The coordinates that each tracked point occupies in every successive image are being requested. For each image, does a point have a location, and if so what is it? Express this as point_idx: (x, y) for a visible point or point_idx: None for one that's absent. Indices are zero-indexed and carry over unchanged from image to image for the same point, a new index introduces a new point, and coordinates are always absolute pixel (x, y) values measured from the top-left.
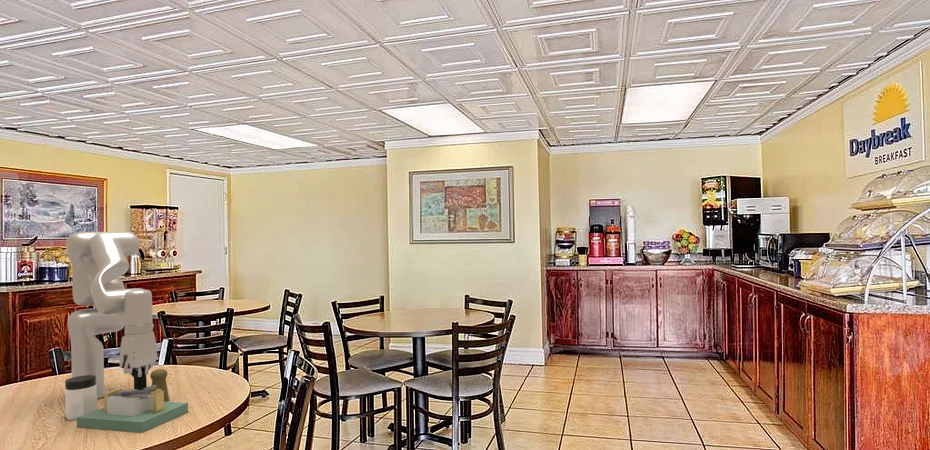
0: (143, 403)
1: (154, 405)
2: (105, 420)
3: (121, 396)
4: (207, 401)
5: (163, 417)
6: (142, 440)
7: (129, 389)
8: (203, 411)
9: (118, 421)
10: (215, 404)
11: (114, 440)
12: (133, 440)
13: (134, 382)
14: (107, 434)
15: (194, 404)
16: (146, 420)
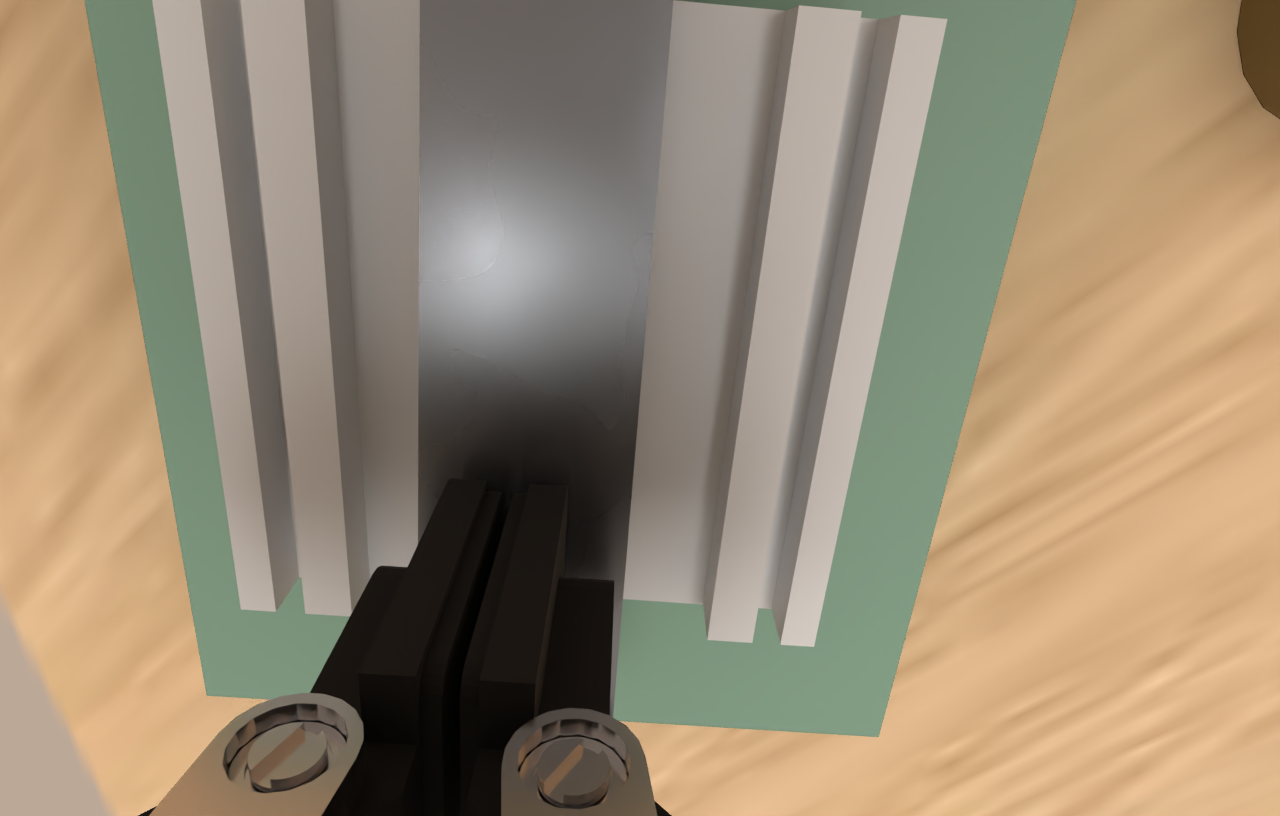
0: None
1: None
2: (124, 181)
3: None
4: (1228, 630)
5: None
6: (120, 741)
7: (654, 148)
8: (877, 767)
9: (162, 399)
10: (1096, 753)
11: (15, 524)
12: (89, 678)
13: (346, 637)
14: (96, 321)
15: (1133, 563)
16: (271, 697)
